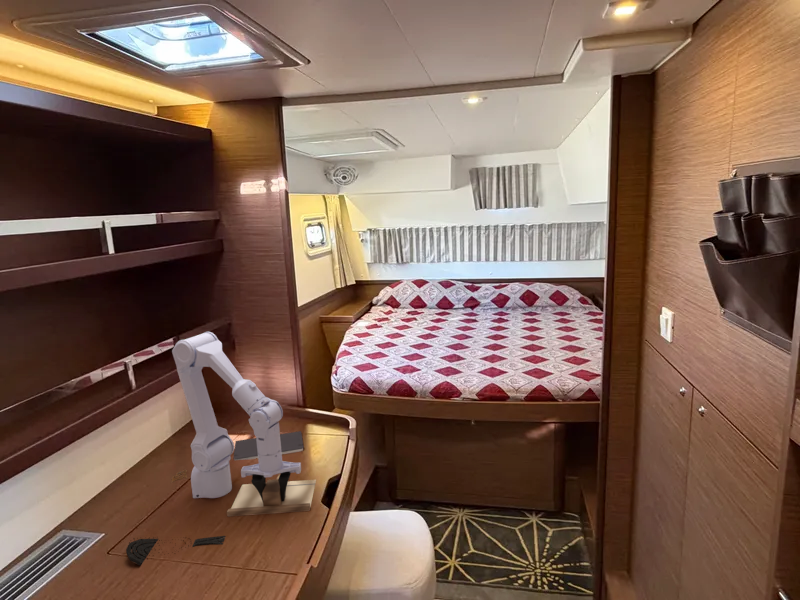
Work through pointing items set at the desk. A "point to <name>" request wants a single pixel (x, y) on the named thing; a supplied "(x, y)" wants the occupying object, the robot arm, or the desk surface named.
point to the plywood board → (294, 501)
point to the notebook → (249, 446)
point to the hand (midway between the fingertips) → (274, 499)
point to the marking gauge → (272, 493)
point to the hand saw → (179, 475)
